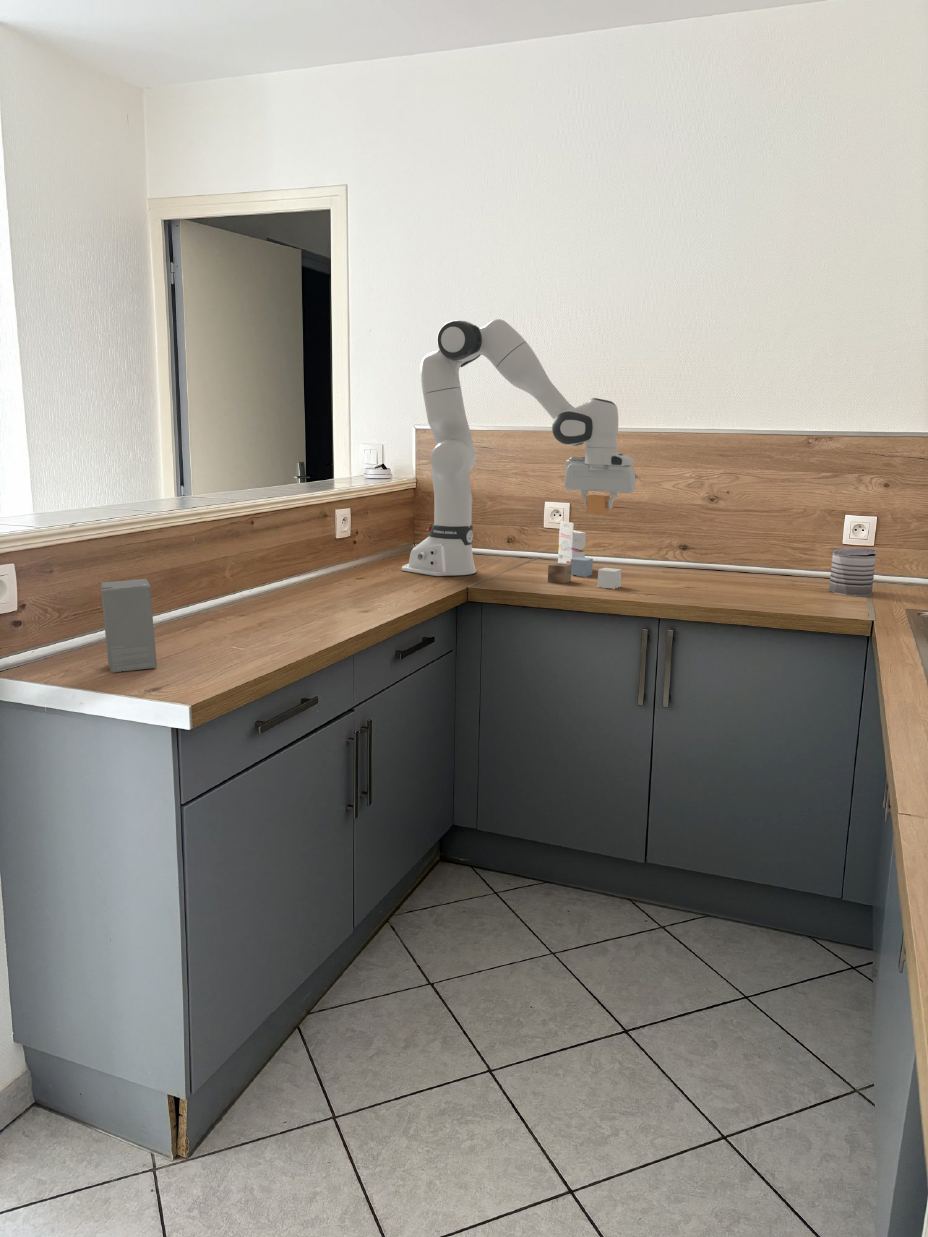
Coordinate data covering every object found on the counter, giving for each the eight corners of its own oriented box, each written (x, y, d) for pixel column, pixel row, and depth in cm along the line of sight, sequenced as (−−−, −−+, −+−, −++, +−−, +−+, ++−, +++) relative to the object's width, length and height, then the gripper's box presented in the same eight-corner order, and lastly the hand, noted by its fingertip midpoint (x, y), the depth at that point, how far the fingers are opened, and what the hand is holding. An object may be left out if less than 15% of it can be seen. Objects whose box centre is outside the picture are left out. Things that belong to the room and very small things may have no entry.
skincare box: (153, 660, 176) (149, 577, 172) (157, 670, 169) (153, 584, 166) (105, 664, 172) (100, 579, 169) (107, 674, 166) (102, 586, 163)
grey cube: (597, 587, 260) (598, 569, 259) (603, 585, 264) (604, 567, 263) (614, 589, 257) (615, 571, 256) (620, 587, 262) (621, 569, 261)
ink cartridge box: (585, 570, 287) (587, 522, 284) (571, 571, 285) (573, 523, 282) (570, 566, 295) (572, 519, 292) (556, 567, 293) (558, 520, 290)
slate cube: (570, 575, 278) (570, 559, 277) (576, 573, 283) (577, 557, 281) (585, 577, 276) (586, 560, 275) (591, 575, 280) (592, 558, 279)
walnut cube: (547, 582, 267) (548, 564, 266) (554, 579, 271) (555, 562, 270) (563, 584, 264) (564, 566, 263) (570, 581, 269) (571, 564, 268)
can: (876, 597, 253) (881, 553, 250) (832, 595, 255) (836, 551, 253) (867, 590, 264) (872, 547, 261) (825, 587, 266) (829, 545, 263)
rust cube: (586, 513, 265) (587, 495, 264) (592, 511, 269) (593, 494, 268) (603, 514, 262) (603, 496, 261) (609, 513, 267) (610, 495, 266)
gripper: (561, 456, 265) (559, 505, 268) (631, 459, 255) (628, 510, 258) (570, 456, 270) (568, 504, 273) (638, 459, 260) (635, 508, 263)
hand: (598, 507), depth 265 cm, fingers closed on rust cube, 5 cm apart
